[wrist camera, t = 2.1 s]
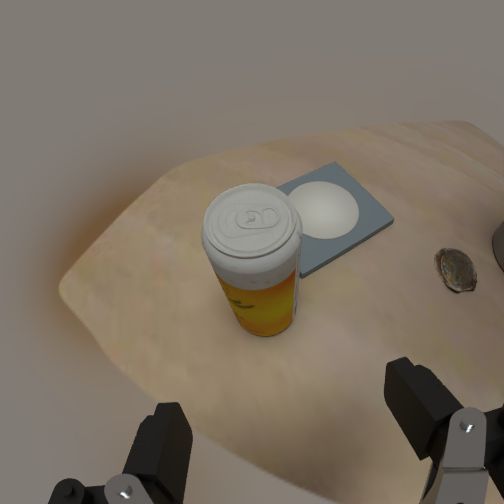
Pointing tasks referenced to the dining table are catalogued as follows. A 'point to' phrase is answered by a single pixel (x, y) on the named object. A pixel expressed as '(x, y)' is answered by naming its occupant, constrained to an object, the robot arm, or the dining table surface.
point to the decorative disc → (455, 269)
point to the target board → (333, 215)
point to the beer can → (256, 254)
